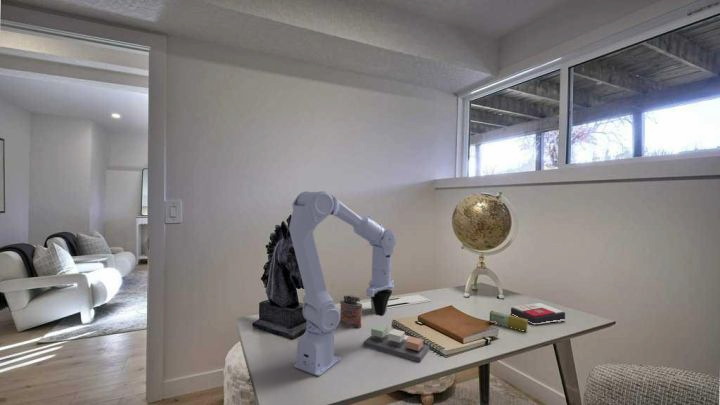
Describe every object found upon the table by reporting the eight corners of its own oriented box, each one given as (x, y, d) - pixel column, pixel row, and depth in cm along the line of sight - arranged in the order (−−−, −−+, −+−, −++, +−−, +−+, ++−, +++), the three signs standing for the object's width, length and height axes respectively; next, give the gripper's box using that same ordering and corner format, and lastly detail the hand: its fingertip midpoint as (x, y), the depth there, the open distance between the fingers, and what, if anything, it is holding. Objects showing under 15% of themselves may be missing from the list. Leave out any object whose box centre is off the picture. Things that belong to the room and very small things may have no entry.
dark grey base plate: (420, 362, 81) (420, 357, 81) (363, 345, 89) (363, 340, 89) (429, 350, 88) (429, 345, 88) (376, 335, 96) (376, 331, 96)
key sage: (382, 337, 89) (382, 331, 89) (371, 334, 90) (371, 328, 90) (387, 333, 92) (387, 327, 92) (376, 330, 94) (376, 324, 94)
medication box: (488, 323, 110) (489, 312, 110) (491, 321, 112) (491, 310, 112) (526, 333, 102) (526, 321, 102) (528, 330, 104) (528, 318, 104)
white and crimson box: (510, 305, 119) (539, 301, 124) (510, 316, 119) (539, 311, 124) (534, 316, 109) (565, 310, 113) (534, 328, 109) (565, 322, 113)
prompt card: (415, 344, 91) (415, 342, 91) (391, 337, 95) (391, 335, 95) (419, 340, 94) (419, 338, 94) (395, 333, 98) (395, 331, 98)
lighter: (337, 324, 104) (338, 294, 104) (342, 320, 107) (343, 292, 107) (358, 329, 100) (359, 298, 100) (363, 325, 103) (364, 296, 103)
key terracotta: (418, 351, 83) (418, 344, 83) (406, 347, 85) (406, 341, 85) (422, 345, 86) (423, 339, 86) (410, 342, 88) (410, 336, 88)
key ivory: (399, 342, 86) (400, 336, 86) (388, 339, 88) (388, 333, 88) (404, 337, 89) (404, 331, 89) (393, 334, 91) (393, 328, 91)
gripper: (383, 275, 83) (381, 326, 83) (403, 266, 95) (401, 310, 95) (360, 272, 86) (358, 320, 86) (382, 263, 99) (381, 305, 99)
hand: (379, 314), depth 91 cm, fingers closed
